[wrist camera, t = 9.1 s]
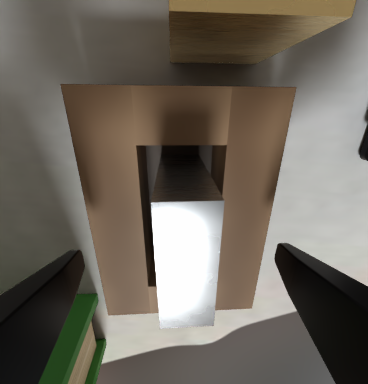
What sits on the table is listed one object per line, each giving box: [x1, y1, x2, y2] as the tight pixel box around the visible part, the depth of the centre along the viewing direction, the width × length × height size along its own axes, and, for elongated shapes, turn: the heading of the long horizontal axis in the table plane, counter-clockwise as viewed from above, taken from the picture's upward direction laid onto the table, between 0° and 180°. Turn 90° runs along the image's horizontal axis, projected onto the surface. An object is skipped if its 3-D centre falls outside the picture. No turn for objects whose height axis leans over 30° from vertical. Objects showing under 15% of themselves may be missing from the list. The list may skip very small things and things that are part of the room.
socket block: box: [61, 84, 296, 315], centre depth 13 cm, size 10×14×4 cm
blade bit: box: [151, 155, 225, 329], centre depth 11 cm, size 2×6×7 cm, turn 0°
